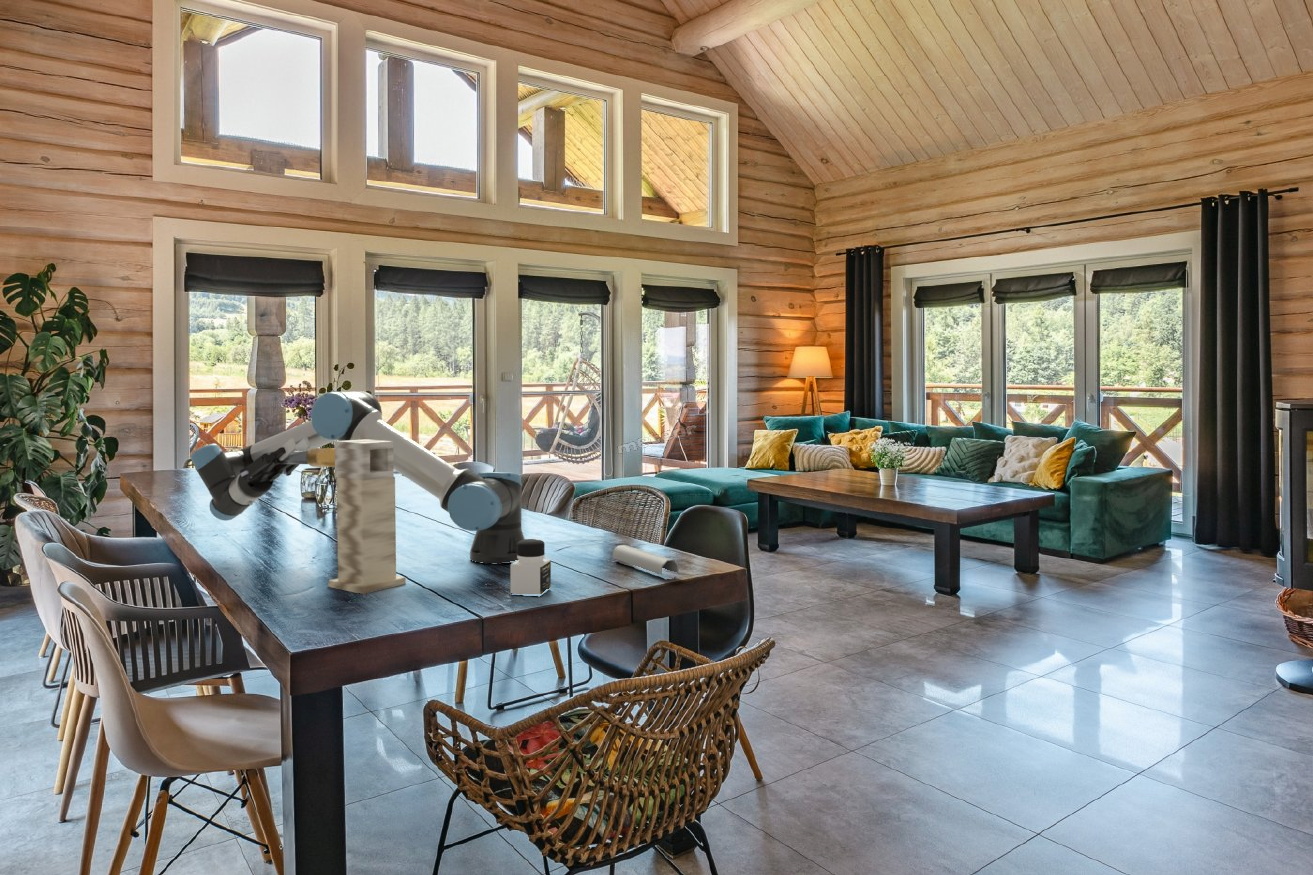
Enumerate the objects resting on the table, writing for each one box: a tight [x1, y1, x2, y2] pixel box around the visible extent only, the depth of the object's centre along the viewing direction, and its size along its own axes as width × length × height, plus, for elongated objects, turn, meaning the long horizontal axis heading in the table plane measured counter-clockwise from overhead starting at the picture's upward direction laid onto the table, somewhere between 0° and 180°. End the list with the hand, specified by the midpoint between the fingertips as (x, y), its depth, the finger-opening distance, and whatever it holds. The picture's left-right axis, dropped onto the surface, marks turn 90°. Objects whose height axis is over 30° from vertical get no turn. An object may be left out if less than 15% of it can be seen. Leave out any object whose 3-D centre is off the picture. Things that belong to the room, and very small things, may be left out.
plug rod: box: [269, 447, 335, 468], centre depth 212 cm, size 26×4×4 cm, turn 57°
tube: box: [612, 544, 680, 575], centre depth 222 cm, size 5×5×25 cm
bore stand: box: [327, 439, 407, 595], centre depth 201 cm, size 12×12×33 cm
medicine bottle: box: [509, 538, 552, 594], centre depth 197 cm, size 7×7×12 cm
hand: (300, 443), depth 213 cm, fingers closed on plug rod, 3 cm apart
